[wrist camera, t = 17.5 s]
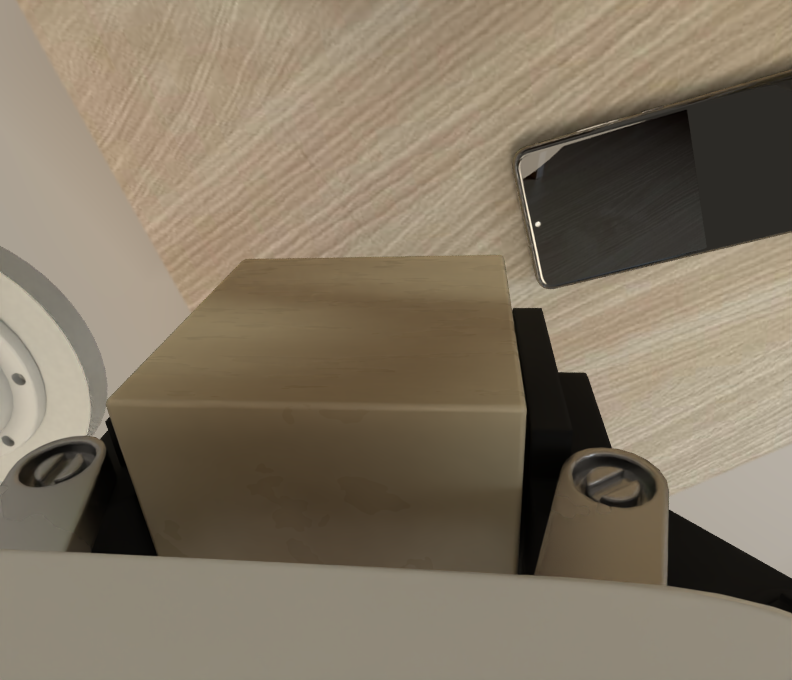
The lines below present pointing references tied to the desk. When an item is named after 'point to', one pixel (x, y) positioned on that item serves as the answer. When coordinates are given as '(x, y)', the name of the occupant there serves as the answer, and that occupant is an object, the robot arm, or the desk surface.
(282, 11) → the desk surface
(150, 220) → the desk surface
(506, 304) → the block
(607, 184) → the smartphone
